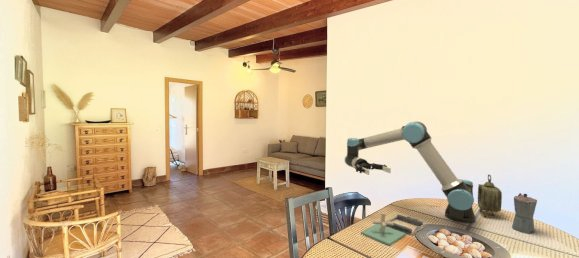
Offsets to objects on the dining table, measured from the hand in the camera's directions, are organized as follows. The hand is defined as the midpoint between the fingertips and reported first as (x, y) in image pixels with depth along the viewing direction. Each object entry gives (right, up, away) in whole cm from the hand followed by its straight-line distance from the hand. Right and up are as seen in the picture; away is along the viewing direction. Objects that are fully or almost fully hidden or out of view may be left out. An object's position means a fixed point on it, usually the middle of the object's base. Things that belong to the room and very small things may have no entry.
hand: (379, 171), depth 145 cm
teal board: (-2, -31, -12) cm, 33 cm away
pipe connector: (-2, -30, -12) cm, 32 cm away
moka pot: (+74, -30, -7) cm, 80 cm away
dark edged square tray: (+14, -30, -1) cm, 33 cm away
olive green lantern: (+71, -29, +13) cm, 78 cm away
